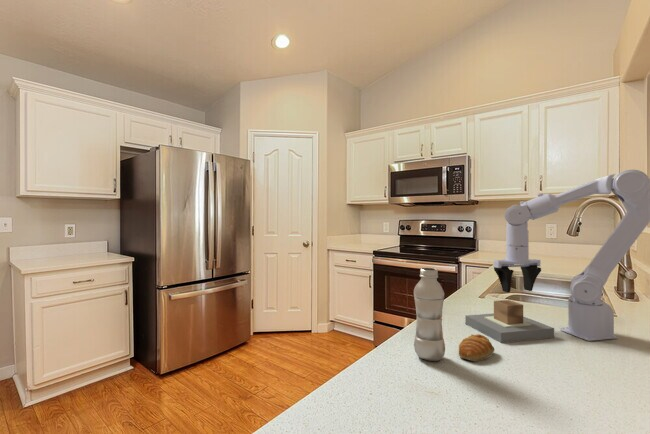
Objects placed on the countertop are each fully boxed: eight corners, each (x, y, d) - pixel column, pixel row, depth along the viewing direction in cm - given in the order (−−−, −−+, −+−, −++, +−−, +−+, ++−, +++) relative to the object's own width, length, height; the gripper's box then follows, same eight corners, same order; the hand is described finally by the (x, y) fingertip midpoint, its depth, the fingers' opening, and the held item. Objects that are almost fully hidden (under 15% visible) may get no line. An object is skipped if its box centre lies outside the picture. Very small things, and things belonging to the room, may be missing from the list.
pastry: (482, 367, 66) (482, 349, 66) (450, 357, 70) (450, 341, 70) (495, 353, 73) (495, 337, 73) (465, 345, 77) (465, 330, 77)
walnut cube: (509, 317, 89) (508, 299, 89) (523, 323, 84) (523, 304, 84) (493, 318, 88) (493, 300, 88) (507, 324, 83) (507, 305, 83)
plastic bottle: (442, 367, 65) (441, 272, 65) (410, 360, 69) (409, 269, 69) (448, 356, 71) (447, 268, 71) (418, 349, 74) (417, 265, 74)
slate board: (512, 320, 95) (512, 311, 95) (554, 337, 81) (554, 327, 81) (465, 323, 92) (465, 314, 92) (501, 342, 78) (500, 331, 78)
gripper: (526, 244, 98) (526, 286, 98) (486, 244, 95) (486, 289, 95) (546, 246, 91) (546, 292, 91) (503, 247, 89) (504, 294, 89)
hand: (517, 291), depth 93 cm, fingers open, 7 cm apart
